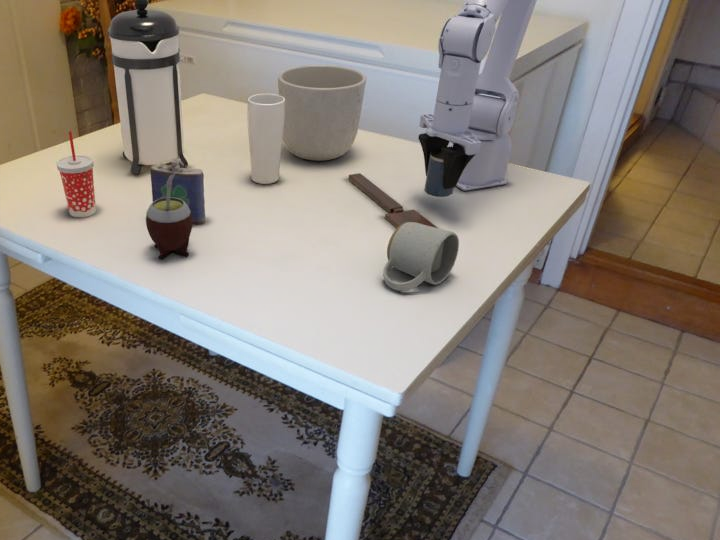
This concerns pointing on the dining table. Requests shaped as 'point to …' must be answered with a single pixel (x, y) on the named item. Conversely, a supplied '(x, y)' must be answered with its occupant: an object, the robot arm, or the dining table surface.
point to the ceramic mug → (421, 254)
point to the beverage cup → (78, 182)
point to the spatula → (388, 203)
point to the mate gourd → (169, 224)
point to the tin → (436, 176)
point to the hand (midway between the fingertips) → (440, 181)
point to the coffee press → (148, 86)
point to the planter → (321, 109)
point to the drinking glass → (265, 136)
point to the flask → (180, 187)
